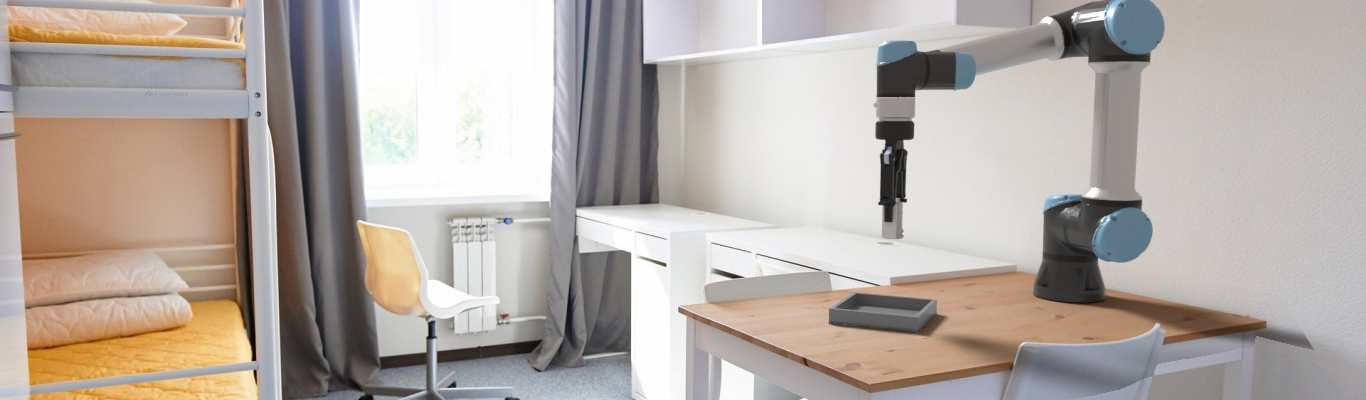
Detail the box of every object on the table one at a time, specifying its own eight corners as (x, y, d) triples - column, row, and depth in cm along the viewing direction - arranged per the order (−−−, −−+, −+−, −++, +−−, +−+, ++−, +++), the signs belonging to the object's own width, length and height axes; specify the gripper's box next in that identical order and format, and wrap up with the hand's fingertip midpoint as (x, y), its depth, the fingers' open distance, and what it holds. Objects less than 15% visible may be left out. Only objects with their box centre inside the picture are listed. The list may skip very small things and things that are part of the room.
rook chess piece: (891, 240, 186) (892, 199, 185) (876, 237, 190) (877, 197, 189) (908, 238, 188) (909, 198, 187) (893, 235, 192) (894, 196, 191)
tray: (936, 313, 196) (936, 299, 195) (917, 332, 180) (918, 317, 180) (853, 305, 203) (854, 292, 203) (828, 323, 188) (829, 308, 187)
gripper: (886, 118, 196) (884, 229, 198) (864, 120, 180) (862, 241, 183) (923, 119, 193) (919, 232, 195) (904, 120, 177) (900, 243, 179)
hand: (892, 236), depth 189 cm, fingers closed on rook chess piece, 4 cm apart
